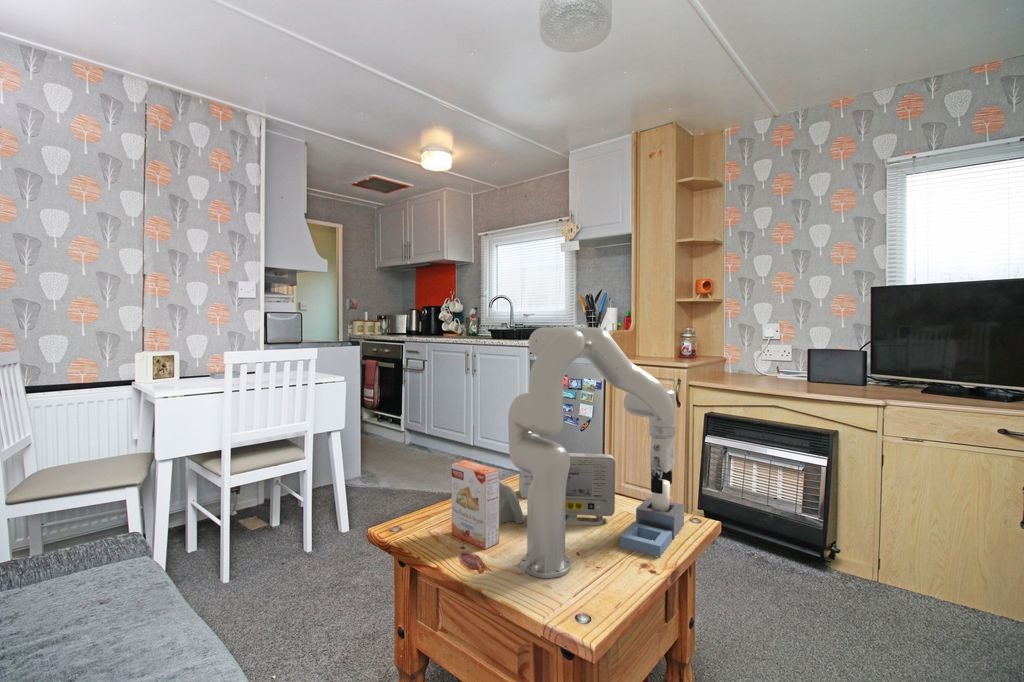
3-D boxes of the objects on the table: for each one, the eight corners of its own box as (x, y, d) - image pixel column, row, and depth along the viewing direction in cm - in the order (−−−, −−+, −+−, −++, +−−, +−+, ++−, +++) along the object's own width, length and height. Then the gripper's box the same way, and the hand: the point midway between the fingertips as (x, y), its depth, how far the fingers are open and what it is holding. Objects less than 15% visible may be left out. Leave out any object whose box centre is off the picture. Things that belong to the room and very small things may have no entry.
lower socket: (660, 557, 128) (660, 546, 128) (619, 546, 134) (619, 536, 134) (671, 542, 138) (671, 531, 137) (633, 532, 144) (633, 522, 144)
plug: (666, 519, 143) (667, 485, 143) (649, 515, 146) (649, 482, 146) (671, 514, 147) (671, 481, 147) (654, 510, 150) (655, 478, 150)
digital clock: (525, 525, 148) (526, 490, 148) (496, 528, 146) (496, 492, 146) (514, 505, 164) (514, 474, 164) (487, 507, 162) (487, 475, 162)
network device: (612, 514, 157) (613, 452, 156) (615, 526, 148) (616, 460, 148) (532, 511, 160) (532, 450, 159) (530, 522, 151) (531, 457, 150)
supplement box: (518, 491, 178) (518, 456, 178) (538, 490, 179) (539, 456, 179) (521, 498, 171) (521, 462, 171) (542, 497, 172) (542, 461, 171)
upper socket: (673, 539, 139) (674, 516, 139) (635, 530, 145) (636, 508, 145) (683, 526, 148) (684, 504, 148) (647, 518, 154) (648, 497, 154)
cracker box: (450, 535, 141) (450, 463, 140) (466, 529, 145) (466, 458, 145) (484, 551, 132) (484, 473, 131) (500, 543, 136) (500, 468, 135)
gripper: (666, 438, 137) (666, 499, 137) (682, 426, 151) (682, 481, 152) (639, 435, 141) (639, 494, 141) (658, 424, 155) (657, 477, 156)
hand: (661, 487), depth 147 cm, fingers open, 9 cm apart
